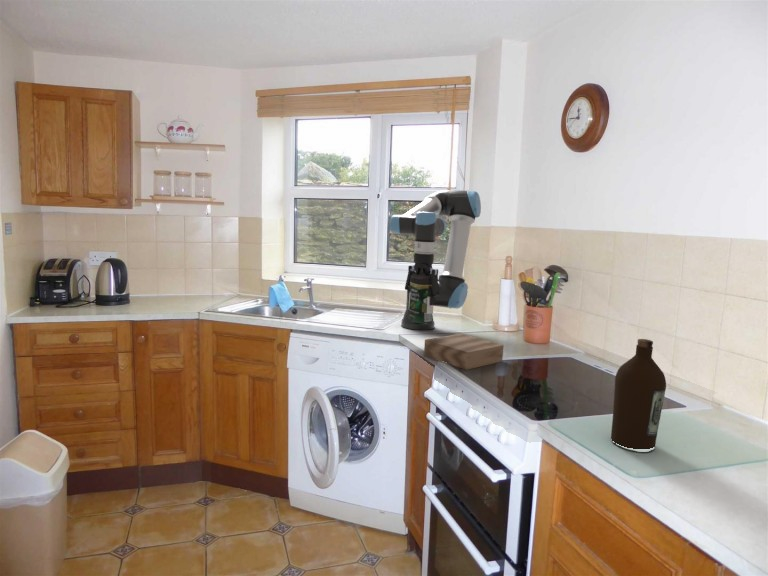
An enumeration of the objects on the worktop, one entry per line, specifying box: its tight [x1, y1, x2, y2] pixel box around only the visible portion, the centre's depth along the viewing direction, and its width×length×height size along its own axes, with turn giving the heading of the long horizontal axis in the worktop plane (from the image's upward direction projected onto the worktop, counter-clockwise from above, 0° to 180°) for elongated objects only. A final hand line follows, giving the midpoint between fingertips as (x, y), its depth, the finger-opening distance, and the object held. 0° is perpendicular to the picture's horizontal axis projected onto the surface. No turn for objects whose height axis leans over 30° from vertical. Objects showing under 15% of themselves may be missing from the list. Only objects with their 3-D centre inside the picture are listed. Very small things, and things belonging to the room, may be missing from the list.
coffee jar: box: [408, 274, 433, 324], centre depth 204 cm, size 10×8×19 cm
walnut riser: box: [423, 333, 504, 371], centre depth 191 cm, size 20×20×6 cm
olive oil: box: [610, 338, 667, 449], centre depth 123 cm, size 11×11×25 cm
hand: (420, 311), depth 204 cm, fingers closed on coffee jar, 9 cm apart
